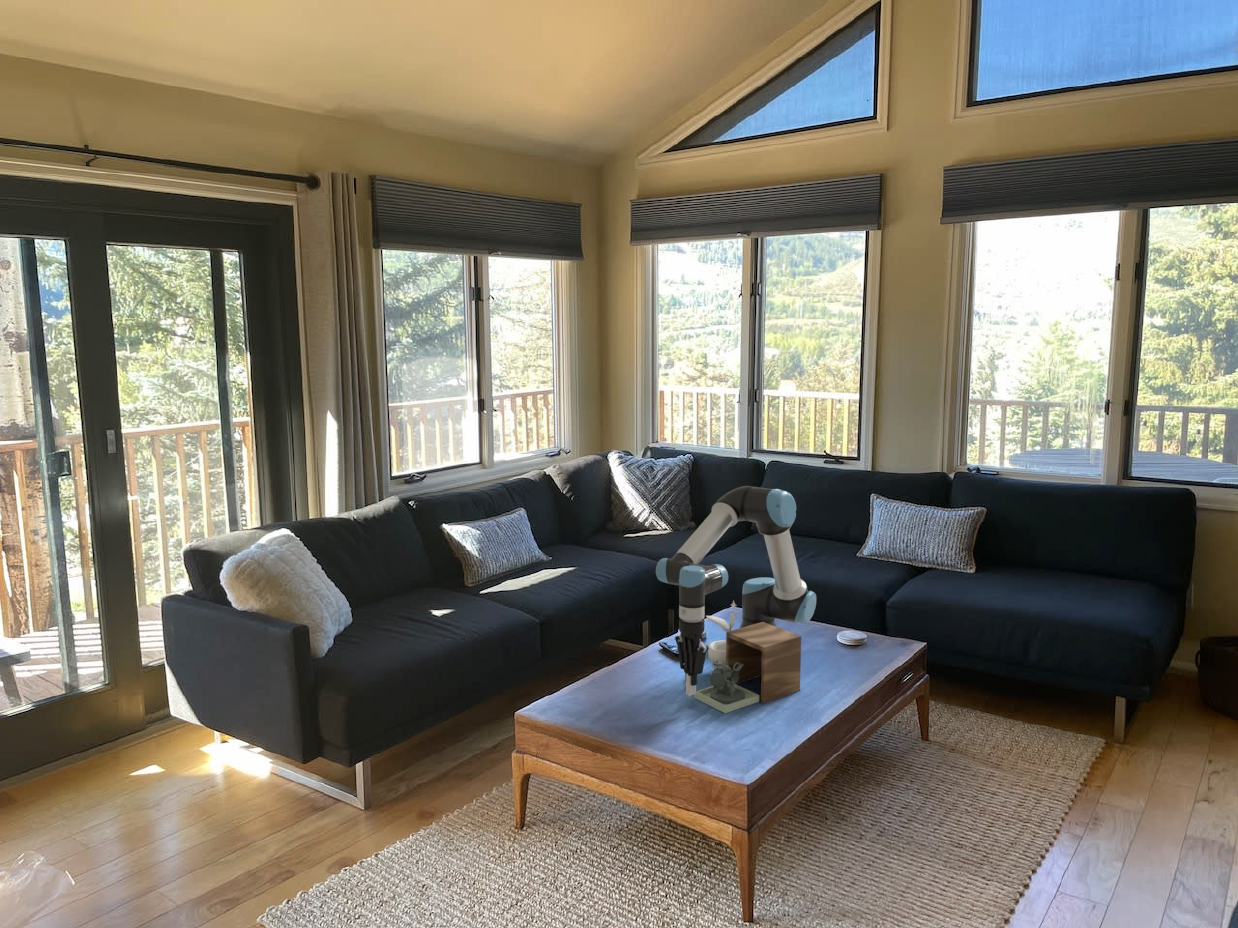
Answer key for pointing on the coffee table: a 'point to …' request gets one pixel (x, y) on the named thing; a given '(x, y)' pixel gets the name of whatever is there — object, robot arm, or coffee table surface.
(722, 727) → the coffee table surface
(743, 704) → the tray
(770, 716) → the coffee table surface
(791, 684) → the shelf
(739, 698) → the figurine
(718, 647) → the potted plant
